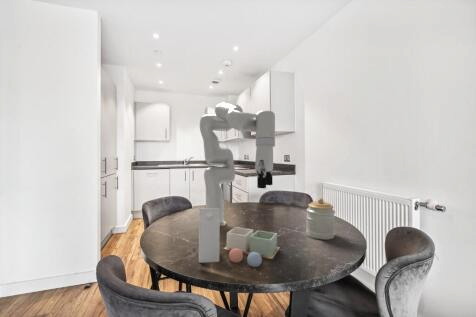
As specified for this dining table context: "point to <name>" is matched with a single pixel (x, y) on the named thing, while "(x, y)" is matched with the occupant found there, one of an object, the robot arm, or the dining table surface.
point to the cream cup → (239, 238)
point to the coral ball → (235, 255)
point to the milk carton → (209, 234)
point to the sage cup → (263, 243)
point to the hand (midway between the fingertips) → (265, 186)
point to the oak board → (260, 255)
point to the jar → (320, 220)
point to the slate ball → (254, 259)
